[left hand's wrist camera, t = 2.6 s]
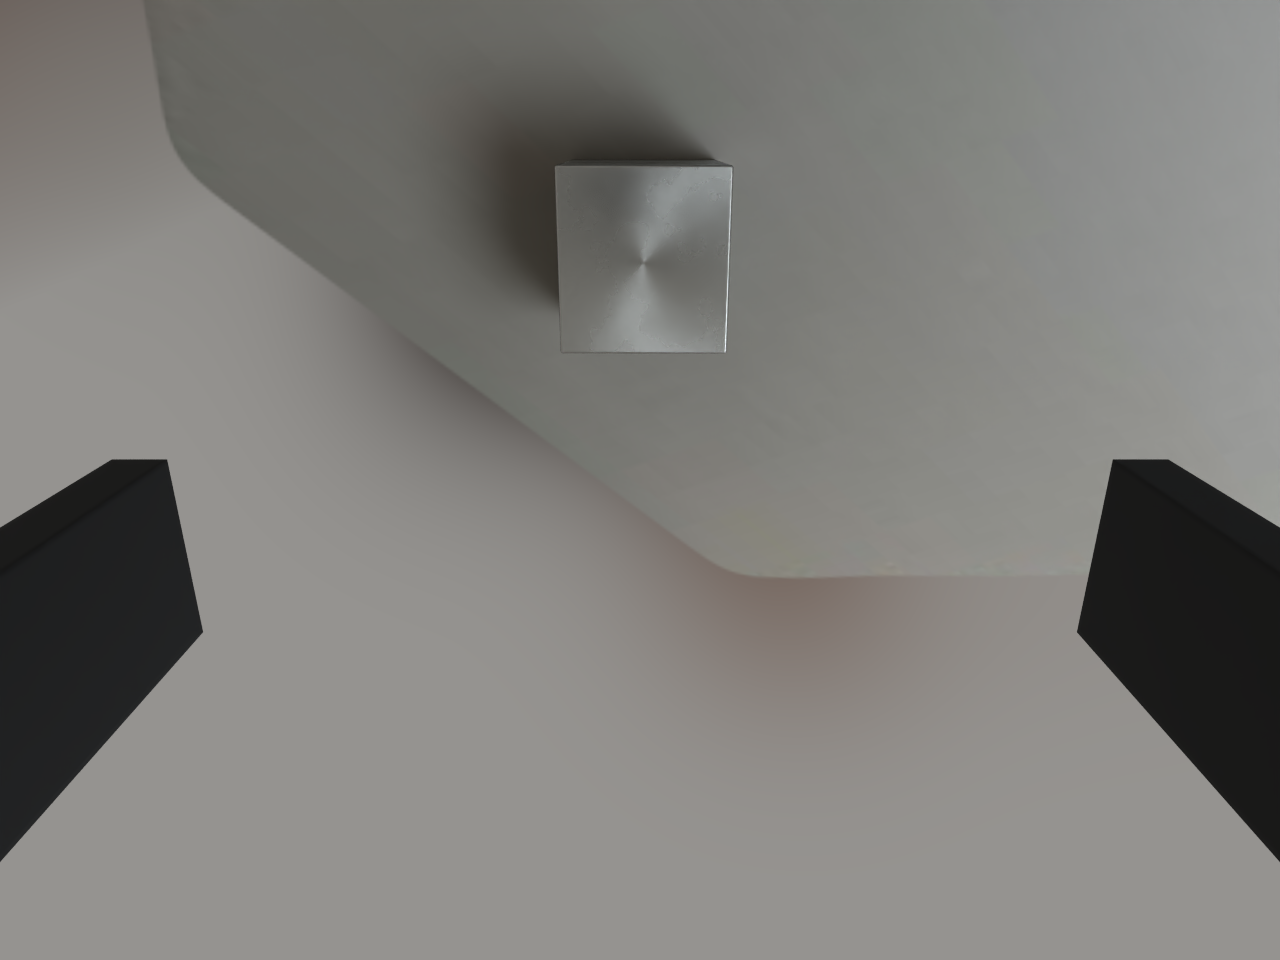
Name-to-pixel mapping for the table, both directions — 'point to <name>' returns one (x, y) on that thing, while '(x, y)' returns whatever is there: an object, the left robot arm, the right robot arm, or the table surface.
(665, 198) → the block
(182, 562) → the left robot arm
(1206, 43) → the table surface
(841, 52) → the table surface
